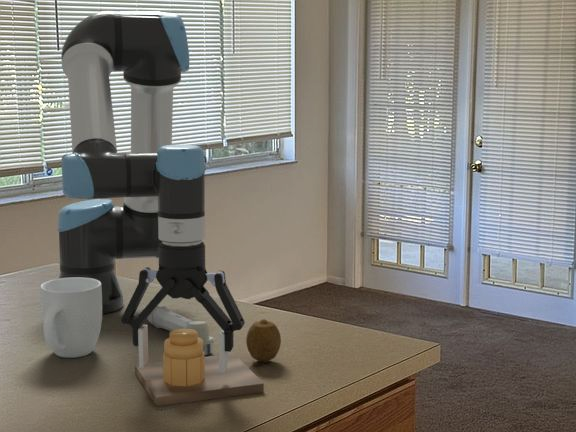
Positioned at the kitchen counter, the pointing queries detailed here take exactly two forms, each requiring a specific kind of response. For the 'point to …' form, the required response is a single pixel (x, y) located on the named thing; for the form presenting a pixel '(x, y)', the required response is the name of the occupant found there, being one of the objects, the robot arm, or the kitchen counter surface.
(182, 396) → the post board
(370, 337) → the kitchen counter surface
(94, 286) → the mug
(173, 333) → the acorn cap nut
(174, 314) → the electric scrub brush
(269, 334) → the fruit
